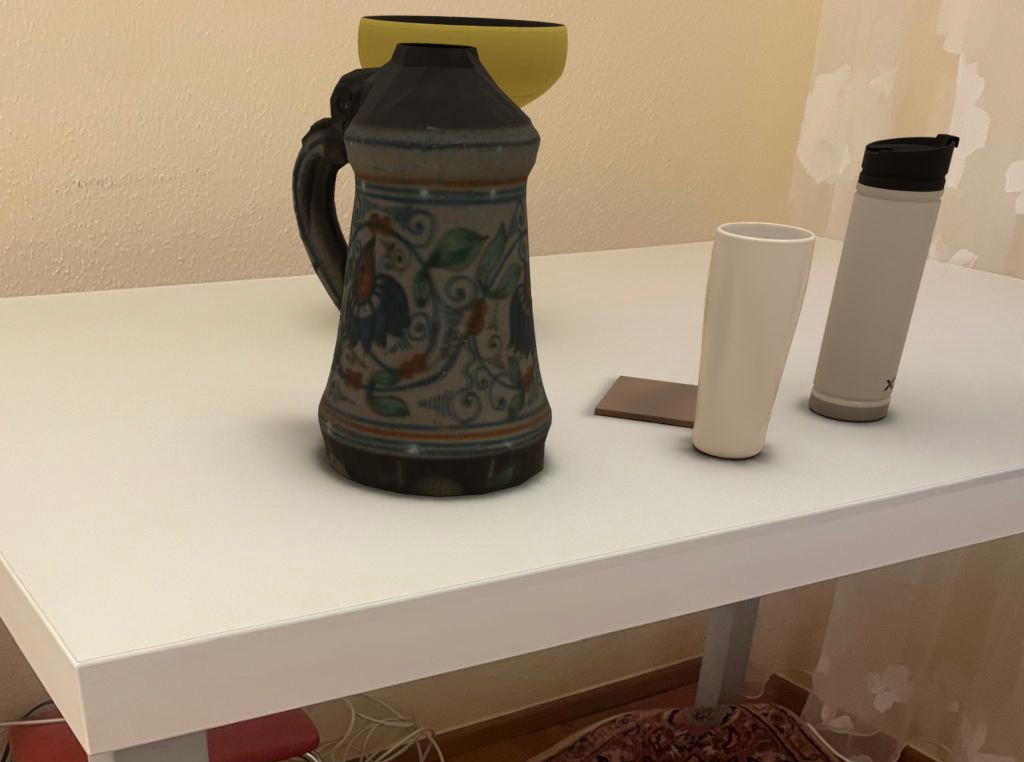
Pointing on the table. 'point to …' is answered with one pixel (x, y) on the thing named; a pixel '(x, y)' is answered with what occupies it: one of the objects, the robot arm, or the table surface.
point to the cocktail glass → (500, 45)
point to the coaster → (650, 401)
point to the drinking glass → (748, 332)
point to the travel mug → (880, 274)
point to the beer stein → (427, 276)
